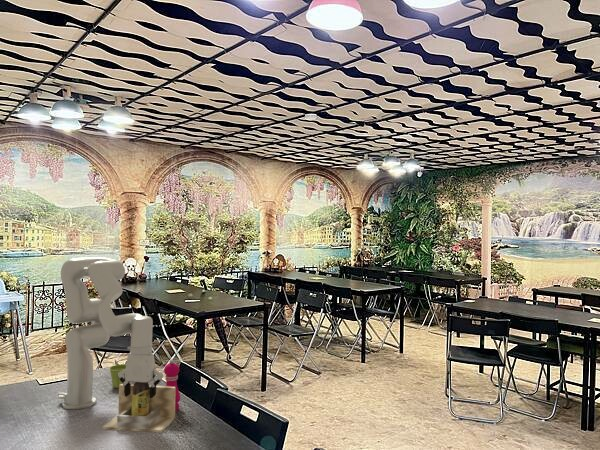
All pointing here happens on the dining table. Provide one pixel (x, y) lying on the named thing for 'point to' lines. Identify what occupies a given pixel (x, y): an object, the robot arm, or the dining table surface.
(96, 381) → the dining table surface
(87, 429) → the dining table surface
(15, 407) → the dining table surface
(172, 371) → the pepper mill
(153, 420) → the condiment rack
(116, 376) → the plant pot
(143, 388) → the sauce bottle
